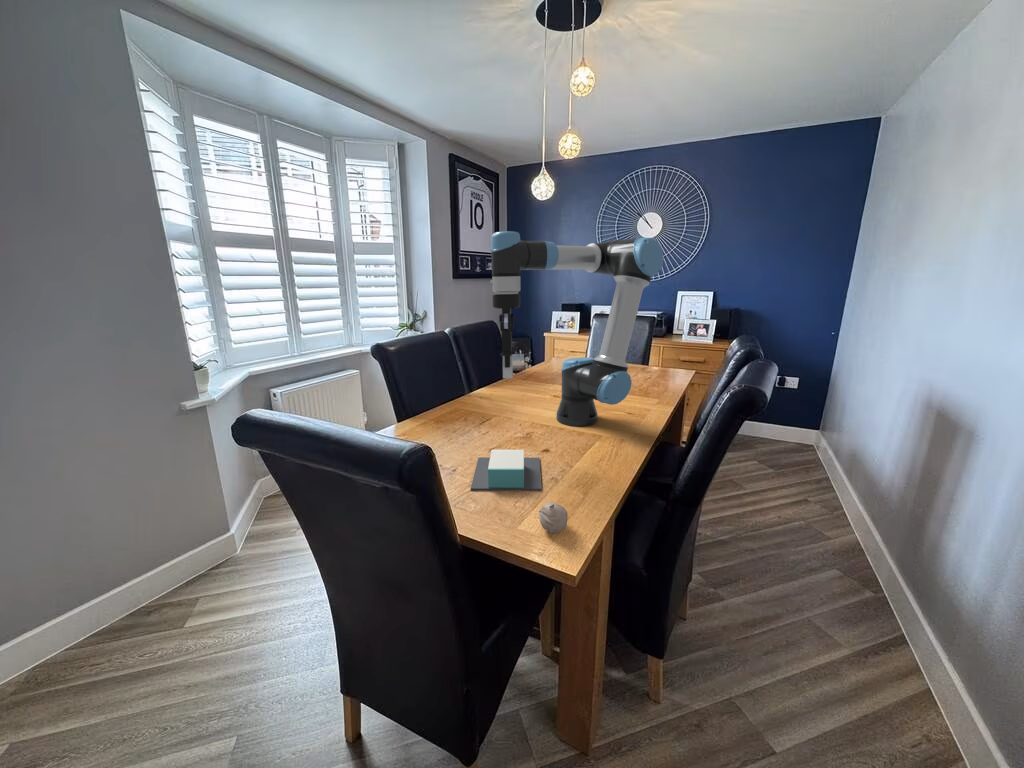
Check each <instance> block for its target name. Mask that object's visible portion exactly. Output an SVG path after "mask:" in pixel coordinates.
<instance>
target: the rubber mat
mask: <svg viewBox="0 0 1024 768" xmlns="http://www.w3.org/2000/svg"><path fill="white" fill-rule="evenodd" d="M540 460H541V459H540V457H524V488H496V487H488V466H489V461H490V457H486V456H485V457H482V456H481V457H477V462H476V466H475V469H474V473H473V476H472V477H473V478H472V482H471V486H470V491H471V492H472V491H474V492H475V491H478V492H479V491H480V492H481V491H482V492H483V491H484V492H488V491H489V492H491V491H492V492H496V491H498V492H499V491H501V492H502V491H503V492H506V491H507V492H509V491H510V492H511V491H512V492H514V491H515V492H516V491H517V492H520V491H521V492H542V489H543V487H542V477H541V476H542V475H541V463H540V462H541V461H540Z"/></svg>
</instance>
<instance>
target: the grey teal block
mask: <svg viewBox="0 0 1024 768" xmlns="http://www.w3.org/2000/svg"><path fill="white" fill-rule="evenodd" d="M524 458H525V449H491V451H490V461H489V466H488V487H496V488H524Z"/></svg>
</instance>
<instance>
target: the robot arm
mask: <svg viewBox="0 0 1024 768" xmlns="http://www.w3.org/2000/svg"><path fill="white" fill-rule="evenodd" d="M490 245H491V246H490V254H491V276H492V279H491V280H490V281H489V284H491V285H492V292H493V294H492V307H493V308H494V309H501V314H499V315H498V316H499V317H498V318H499V320H498V321H499V324H500V325H499V326H500V332H501V349H502V351H501V352H500V353H499V356H500V357H502V379H513V375H514V374H513V371H514V370H513V355H515V351H513V331H514V321H515V313H514V314H513V313H512V309H519V308H520V307H521V294H520V293H519V292H521V271H530V270H531V271H537V270H539V271H542V270H543V271H547V270H548V271H549V270H550V271H564V270H565V271H566V270H567V271H569V270H570V271H573V270H574V271H576V270H578V271H583V270H584V271H585V272H587V273H591V274H603V275H608V276H609V275H610V276H613V280H614V282H615V283H616V286H615V289H614V295H613V298H612V301H611V306H610V311H609V314H608V318H607V322H606V325H605V330H604V334H603V339H602V343H601V346H600V351H599V354H598V355H597V356H595V357H590V356H589V357H587V356H585V357H584V356H583V357H573V358H572V357H570V358H566V359H565V360H563V362H562V366H561V398H560V402H559V405H558V407H557V410H556V415H555V416H556V421H557V422H559V423H561V424H564V425H567V426H571V427H572V426H573V427H587V426H591V425H594V424H596V423H598V418H599V417H598V416H599V415H598V414H599V413H598V411H597V408H596V404H595V401H598V402H599V403H601V404H605V405H617V404H620V403H622V401H624V400H625V399H626V398H627V396H628V395H629V393H630V391H631V389H632V380H631V379H632V378H631V375H630V374H629V373H628V369H629V366H628V364H627V362H626V359H627V358H626V357H627V355H628V350H629V346H630V342H631V339H632V334H633V330H634V327H635V322H636V319H637V314H638V311H639V307H640V302H641V298H642V294H643V292H644V289H645V288H646V287H648V286H650V283H651V279H652V277H654V276H657V275H658V274H659V273H660V272H661V270H662V268H663V265H664V251H663V249H662V246H661V244H660V243H659V241H657V240H656V239H654V238H652V237H643V236H641V237H636V238H627V239H624V238H623V239H615V240H609V241H605V242H598V243H597V242H596V243H594V242H592V243H589V244H587V245H586V246H584V245H562V244H561V245H560V244H559V245H557V244H556V243H555V242H554V241H546V240H521V235H520V233H519V231H496V232H494V233H493V234H492V235H491V242H490Z"/></svg>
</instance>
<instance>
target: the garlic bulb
mask: <svg viewBox="0 0 1024 768" xmlns="http://www.w3.org/2000/svg"><path fill="white" fill-rule="evenodd" d="M538 512H539V513H538V516H539V522H540V525H541V527H542V529H544V530H545V531H547V532H548V533H550V534H553V535H555V534H557V535H558V534H560V533H562V532H563V531H564V530H565V529H566V527H567V525H568V519H569V518H568V517H569V516H568V510H567V509H566V508H565V507H564V506H563V505H562V504H559V503H557V502H554V501H550V502H545V503H544V504H543V505H542V506H541V508H540V509H539V511H538Z"/></svg>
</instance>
